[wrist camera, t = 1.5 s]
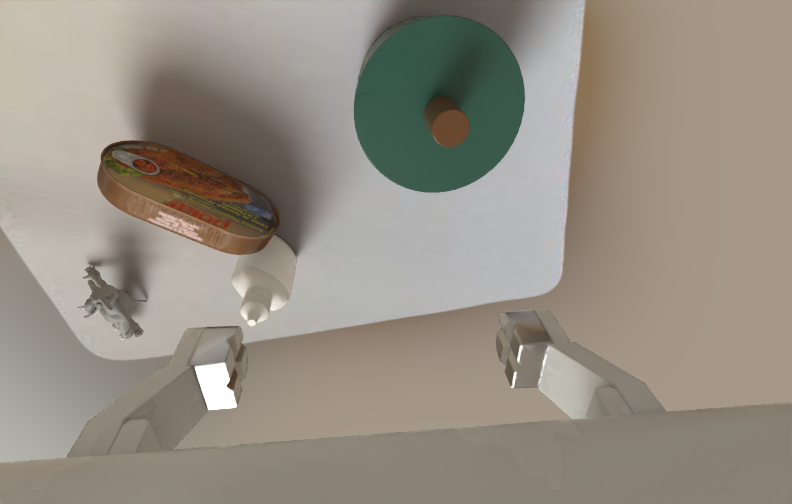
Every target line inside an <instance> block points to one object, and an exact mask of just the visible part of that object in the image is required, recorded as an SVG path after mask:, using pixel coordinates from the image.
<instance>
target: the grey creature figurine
mask: <svg viewBox="0 0 792 504" xmlns="http://www.w3.org/2000/svg"><path fill="white" fill-rule="evenodd" d="M87 269H88V270H89V271H88V270H87ZM87 269H85V271H86V272H87V273H88V274H89V275H88V276H86V277H83V278H82V279H92V280H94V282H95V283H96V284H97V286H98V287H99V288H98V287H97V286H96V285H95V283H94V282H93V281H92V280H89V281H88V285H89V286H90V288H91V290H92V295H90V298H89V299H87V301H86V303H85V305H84V306H81V307H77V308H81V309H85V310H86V311H87V312H88V313H89V315H86V316H84V318H87V317H92V316H94V315H96V314H97V313H98V312H99V310H100V313H101V314H102V316H103V317H104V318H105V319H106V320H107V321H108V322H112V323H113V325H112V327H113V329H114V330H120V332H121V334H120V339H122V340H125V339H128V338H130V337H131V336H132V335H133V334H135V337H138V336H141V335H142V334H143V333H142V332H144V331H143V330H142V329H141V328H140V326H139V324H138V323H136V322H135V321H134V320H133V319H132V315H133V313H134V311H135V308H136V306H135V304H137V303H140V302H146V301H147V300H133V299H131V297H130V296H129V295H128V294H127V293H125V292H123V291H121V290H118V289H116V288H114V287H113V286H110V285H108V284H107V283H106V282H105V281H104V280H102V279H101V277H100V273H99V272H98V271H97V270H96V269H95V268H94V267H92V268H91V266H89V267H87ZM138 331H139V332H140V333H139V332H138ZM141 331H142V332H141ZM136 333H137V334H138V335H137V334H136ZM140 334H141V335H140Z"/></svg>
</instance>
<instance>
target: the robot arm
mask: <svg viewBox="0 0 792 504" xmlns="http://www.w3.org/2000/svg"><path fill="white" fill-rule="evenodd" d="M499 322H500V325H501V327H502V328H501V329H500V330H499V331H498V332H497V338H496V347H497V353H498V356H499V359H500V361H501V362H502V363H504V364H505V365H506V369H505V374H506V376H507V378H508V381H509V383H510V386H511V388H532V387H538V389H539V390H540V391H541V392H543V393H544V394H545V395H546V396H547V397H548V398H549V399H551V400H552V401H553V402H554V403H555V404H556V405H558V406H559V407H560V408H561V409H562V410H563V411H564V412H565V413H567V414H568V415H569V416H570V417H571V418H572V419H567V420H566V419H565V420H553V421H541V422H528V423H515V424H502V425H491V426H490V425H489V426H477V427H462V428H449V429H435V430H422V431H408V432H396V433H383V434H370V435H358V436H345V437H331V438H318V439H305V440H292V441H279V442H267V443H253V444H240V445H227V446H214V447H201V448H189V449H175V450H173V449H174V448H175V447H176V446H177V444H178V443H179V442H180V441H181V440H182V439H183V438H184V437H185V435H187V434H188V433H189V431H190V430H191V429H192V428H193V427H194V426H195V425H196V424H197V423H198V422H199V421H200V419H201V418H202V417H203V416H204V415H205V414H206V413H207V412H208V411H207V410H215V409H226V408H236V407H237V406H238V403H239V399H240V395H241V392H242V387H241V383H240V382H241V381H242V380H243V379H244V378H245V377H246V372H247V365H248V357H247V350H246V347H245V346H244V345H243V344H242V343H241V342H242V339H243V333H242V329H241V327H239V326H223V327H206V328H205V327H200V328H188V329H187V330H186V331H185V332H184V334H183V336H182V338H181V341H180V343H179V345H178V347H177V349H176V351H175V353H174V355H173V357H172V359H171V361H170V363H169V366H168V367H164V368H161V369H160V370H159V371H157V372H156V373H154V374H153V375H152V376H150V377H149V378H147V379H146V380H145V381H143V382H142V383H141V384H139V385H138V386H136V387H135V388H134V389H132V390H131V391H130V392H128V393H127V394H126V395H124V396H123V397H121V398H120V399H119V400H117V401H116V402H114V403H113V404H112V405H110V406H109V407H108V408H106V409H105V410H103V411H102V412H101V413H99V414H98V415H97V416H95V417H94V418H92V419H91V420H90V421H88V422H87V424H86V426H85V427H84V429H83V431H82V432H81V434H80V436H79V437H78V439H77V441H76V442H75V444H74V446H73V447H72V449H71V451H70V452H69V454H68V455H67V457H66V458H57V459H43V460H30V461H18V462H5V463H0V504H792V403H773V404H762V405H748V406H735V407H723V408H709V409H696V410H683V411H670V412H666V410H665V409H664V408H663V406H662V405H661V404H660V403H659V401H658V400H657V398H656V397H655V396H654V395H653V393H652V392H651V390H650V389H649V388H648V386H647V385H646V384H645V383H644V382H642V381H641V380H639V379H637V378H635V377H634V376H632V375H630V374H628V373H627V372H625V371H623V370H622V369H620V368H618V367H617V366H615V365H613V364H612V363H610V362H608V361H606V360H604V359H603V358H601V357H599V356H598V355H596V354H595V353H593V352H591V351H589V350H588V349H586V348H584V347H582V346H581V345H579V344H577V343H576V342H573V343H571V342H570V340H569V338H568V337H567V335H566V334H565V332H564V331H563V329H562V328H561V326H560V325H559V323H558V321H557V320H556V318H555V317H554V315H553V314H552V312H551V311H550V310H549V309H536V310H526V311H509V312H502V313H501V315H500V320H499Z"/></svg>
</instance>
